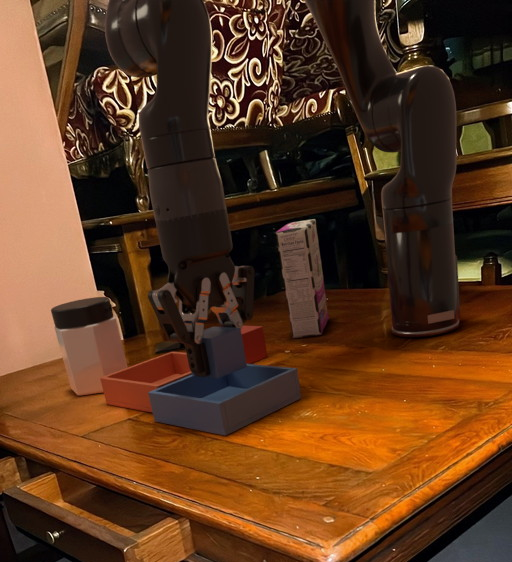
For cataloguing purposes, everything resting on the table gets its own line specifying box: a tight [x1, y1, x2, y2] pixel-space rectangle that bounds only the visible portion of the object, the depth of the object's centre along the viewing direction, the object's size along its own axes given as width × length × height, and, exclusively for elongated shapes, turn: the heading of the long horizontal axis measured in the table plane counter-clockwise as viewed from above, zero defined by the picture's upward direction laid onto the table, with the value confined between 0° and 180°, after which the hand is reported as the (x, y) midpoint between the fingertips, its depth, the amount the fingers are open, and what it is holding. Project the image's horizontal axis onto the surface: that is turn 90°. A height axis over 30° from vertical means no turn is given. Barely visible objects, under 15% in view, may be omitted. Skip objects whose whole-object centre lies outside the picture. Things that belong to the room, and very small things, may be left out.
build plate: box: [154, 323, 193, 355], centre depth 116 cm, size 12×7×5 cm, turn 95°
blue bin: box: [148, 363, 302, 437], centre depth 79 cm, size 12×12×4 cm
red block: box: [241, 325, 268, 364], centre depth 99 cm, size 4×4×4 cm
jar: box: [50, 296, 129, 396], centre depth 98 cm, size 9×8×12 cm
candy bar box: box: [275, 218, 330, 339], centre depth 109 cm, size 11×5×16 cm, turn 168°
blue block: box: [192, 326, 247, 379], centre depth 77 cm, size 4×4×4 cm
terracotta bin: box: [100, 351, 192, 414], centre depth 90 cm, size 12×12×4 cm
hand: (219, 368), depth 78 cm, fingers closed on blue block, 4 cm apart
